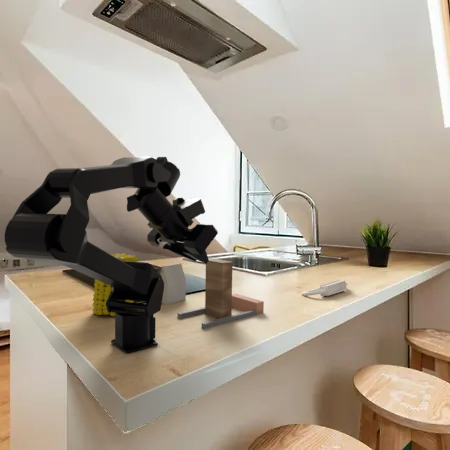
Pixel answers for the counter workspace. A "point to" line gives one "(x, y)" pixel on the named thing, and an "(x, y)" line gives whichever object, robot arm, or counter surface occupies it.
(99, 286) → the food
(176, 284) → the tea bag
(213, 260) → the brown wooden tall block
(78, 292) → the counter surface
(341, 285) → the oval loop handle
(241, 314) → the twin grey rails
